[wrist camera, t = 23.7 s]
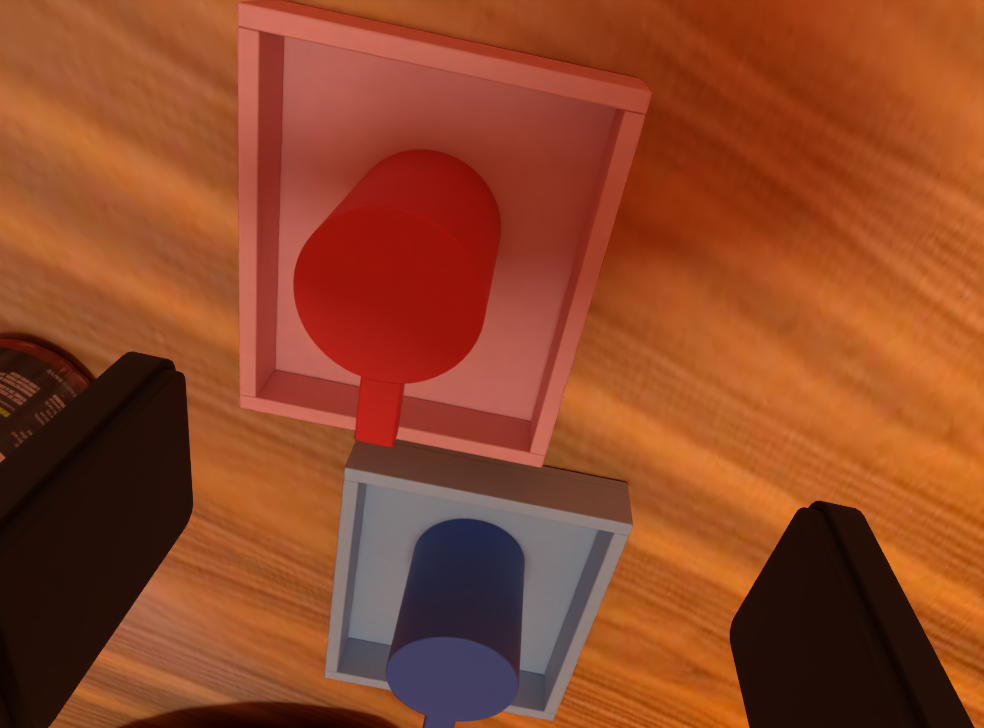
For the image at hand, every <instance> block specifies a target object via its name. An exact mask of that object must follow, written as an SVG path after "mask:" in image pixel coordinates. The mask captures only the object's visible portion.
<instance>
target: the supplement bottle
mask: <svg viewBox="0 0 984 728" xmlns="http://www.w3.org/2000/svg"><path fill="white" fill-rule="evenodd" d="M89 385H90V382H89V380H88V379H87V378H86V377H85V376H84V375H83V374H82V373H81V372H80V371H79V370H78V369H77V368H75V367H74V366H73V365H72V364H71V363H70V362H68V361H67V360H66V359H64V358H63V357H61V356H60V355H58V354H56V353H55V352H52V351H51V350H49V349H46V348H44V347H42V346H39V345H36V344H34V343H31V342H28V341H23V340H17V339H0V462H1V461H3V460H4V459H5V458H6V457H7V456H8V455H9V454H11V453H12V452H13V451H14V450H15V449H16V448H17V447H18V446H20V445H21V444H22V443H23V442H24V441H25V440H26V439H28V438H29V437H30V436H31V435H32V434H34V433H35V432H37V431H38V430H39V429H40V428H41V427H43V426H44V425H45V424H46V423H47V422H48V421H49V420H51V419H52V418H53V417H54V416H55V415H56V414H57V413H58V412H60V411H61V410H62V409H63V408H64V407H65V406H66V405H68V404H69V403H70V402H71V401H72V400H73V399H74V398H75V397H77V396H78V395H79V394H80V393H81V392H82V391H83V390H84V389H86V388H87V387H88V386H89Z"/></svg>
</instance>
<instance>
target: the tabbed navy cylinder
mask: <svg viewBox="0 0 984 728" xmlns="http://www.w3.org/2000/svg"><path fill="white" fill-rule="evenodd" d="M524 571H525V560H524V555H523V552H522V550H521V548H520V546H519V545H518V543H517V542H516V541H515V540H514V539H513V537H512V536H510V535H509V534H508V533H507V532H505V531H504V530H502V529H500V528H499V527H497V526H494V525H492V524H489V523H487V522H483V521H479V520H472V519H456V520H449V521H446V522H442V523H439V524H437V525H435V526H433V527H431V528H430V529H428V530H427V531H426V532H425V533H424V534H423V535H422V536H421V537H420V538H419V540H418V541H417V543H416V545H415V548H414V552H413V556H412V561H411V565H410V569H409V573H408V577H407V582H406V586H405V590H404V594H403V598H402V603H401V607H400V611H399V615H398V619H397V623H396V628H395V632H394V636H393V640H392V644H391V649H390V653H389V657H388V661H387V665H386V679H387V682H388V685H389V687H390V689H391V691H392V692H393V693H394V695H395V696H396V697H397V698H398V699H399V700H400V701H401V702H403V703H404V704H405V705H407V706H408V707H410V708H411V709H413V710H415V711H417V712H419V713H422V714H424V715H425V719H424V723H423V728H454V725H455V722H456V721H475V720H481V719H485V718H488V717H491V716H494V715H496V714H498V713H500V712H502V711H503V710H505V709H506V708H507V707H508V706H509V705H510V704H511V703H512V702H513V701H514V699H515V697H516V695H517V693H518V689H519V676H520V655H521V634H522V613H523V592H524Z"/></svg>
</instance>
